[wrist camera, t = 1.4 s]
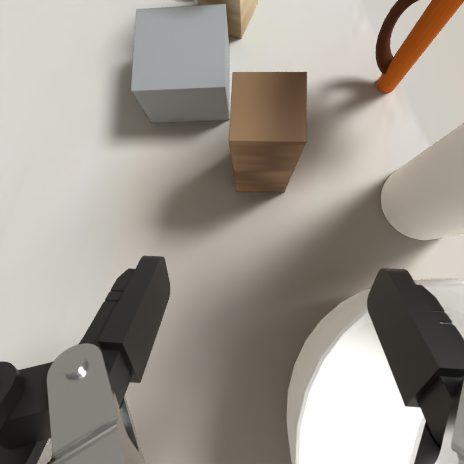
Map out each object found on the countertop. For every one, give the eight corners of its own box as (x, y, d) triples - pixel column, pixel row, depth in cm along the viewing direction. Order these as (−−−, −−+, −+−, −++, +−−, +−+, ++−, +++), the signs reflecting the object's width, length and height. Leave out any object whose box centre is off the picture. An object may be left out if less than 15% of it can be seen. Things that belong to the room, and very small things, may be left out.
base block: (151, 123, 28) (130, 90, 23) (155, 54, 29) (136, 9, 24) (229, 120, 27) (225, 86, 22) (229, 50, 28) (225, 3, 23)
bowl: (232, 360, 24) (223, 408, 15) (412, 233, 24) (498, 212, 16) (378, 590, 20) (468, 810, 12) (580, 437, 21) (797, 544, 13)
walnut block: (236, 191, 26) (228, 140, 16) (238, 147, 26) (232, 72, 17) (284, 192, 25) (305, 141, 16) (285, 148, 26) (306, 72, 16)
